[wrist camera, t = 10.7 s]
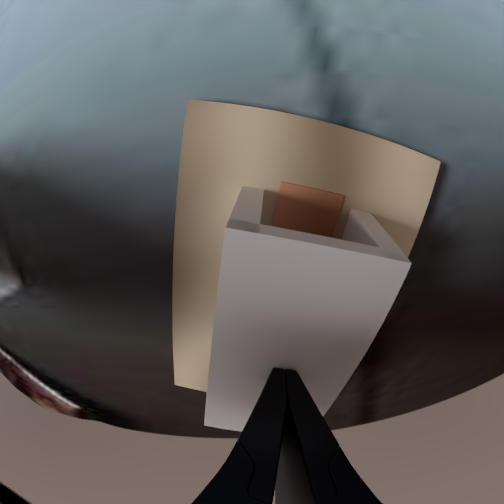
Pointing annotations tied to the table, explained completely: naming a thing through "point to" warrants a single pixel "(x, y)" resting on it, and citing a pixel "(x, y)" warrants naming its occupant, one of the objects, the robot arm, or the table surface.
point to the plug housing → (295, 307)
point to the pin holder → (276, 199)
